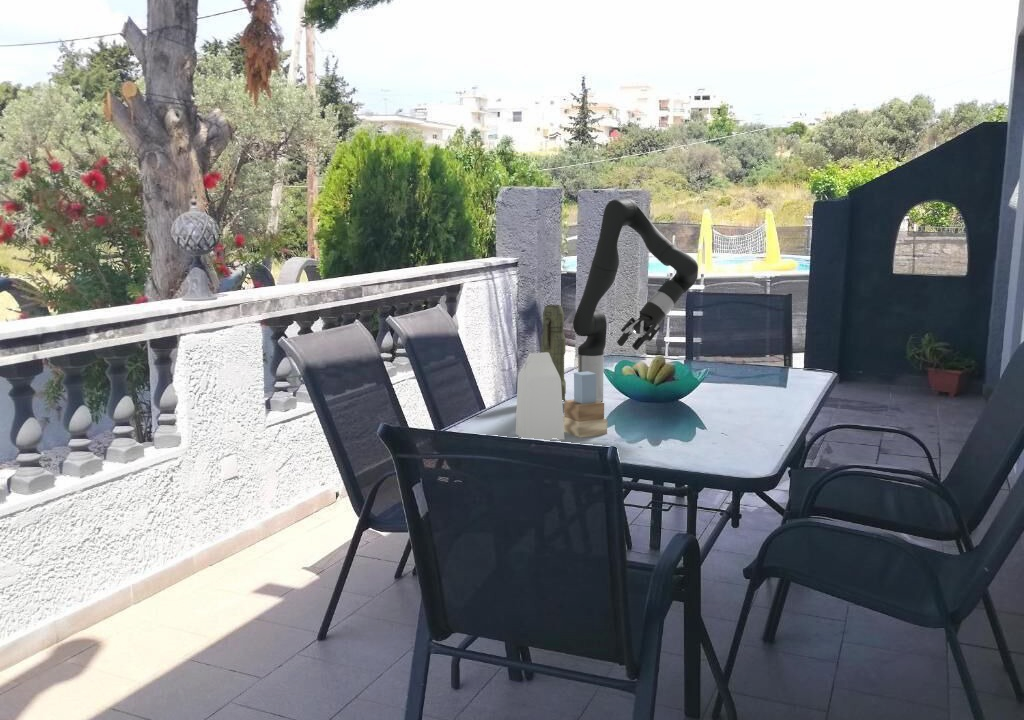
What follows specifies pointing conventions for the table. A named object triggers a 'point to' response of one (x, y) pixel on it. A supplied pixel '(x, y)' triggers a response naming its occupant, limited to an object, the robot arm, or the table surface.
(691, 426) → the table surface
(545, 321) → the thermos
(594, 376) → the slate block
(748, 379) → the table surface
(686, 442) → the table surface
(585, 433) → the tower bottom block
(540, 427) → the milk
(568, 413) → the tower top block
